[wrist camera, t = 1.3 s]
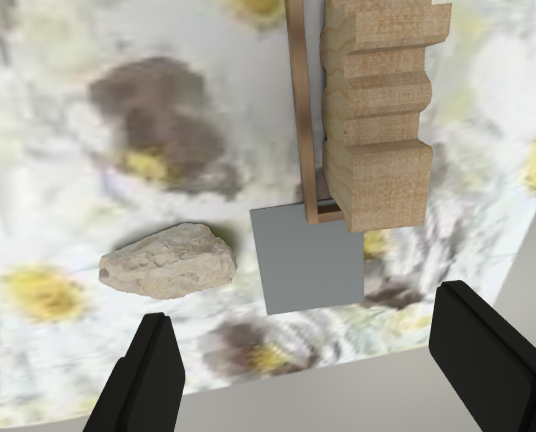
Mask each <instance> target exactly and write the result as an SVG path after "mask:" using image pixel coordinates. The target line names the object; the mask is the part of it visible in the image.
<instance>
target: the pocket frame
mask: <svg viewBox="0 0 536 432" xmlns="http://www.w3.org/2000/svg"><path fill="white" fill-rule="evenodd" d="M285 5H286V16H287V27H288V38H289V49H290V60H291V71H292V82H293V93H294V104H295V115H296V126H297V137H298V148H299V159H300V170H301V181H302V192H303V203H304V208H305V217H306V220H307V222H308V225H311V224H318V223H325V222H332V221H339V220H345V217H344V212H343V211H342V210H341V208H340V207H339V206H338V204H331V205H324V206H317V197H316V183H315V169H314V155H313V141H312V128H311V114H310V100H309V86H308V72H307V58H306V44H305V31H304V17H303V3H302V0H285Z"/></svg>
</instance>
